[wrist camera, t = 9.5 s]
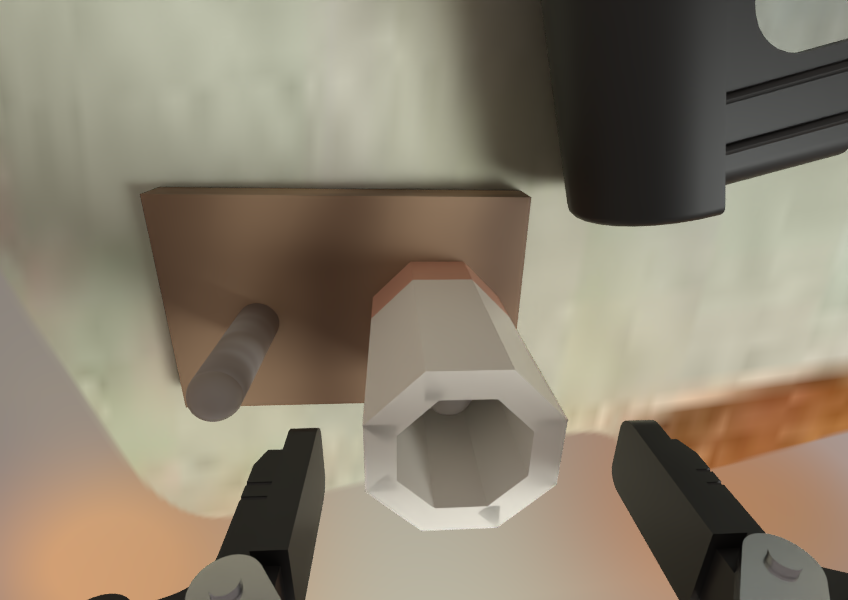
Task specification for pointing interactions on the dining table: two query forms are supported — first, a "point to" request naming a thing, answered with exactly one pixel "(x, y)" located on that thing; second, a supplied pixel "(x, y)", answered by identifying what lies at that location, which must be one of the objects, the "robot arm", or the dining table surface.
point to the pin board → (309, 281)
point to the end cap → (682, 105)
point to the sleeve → (454, 380)
